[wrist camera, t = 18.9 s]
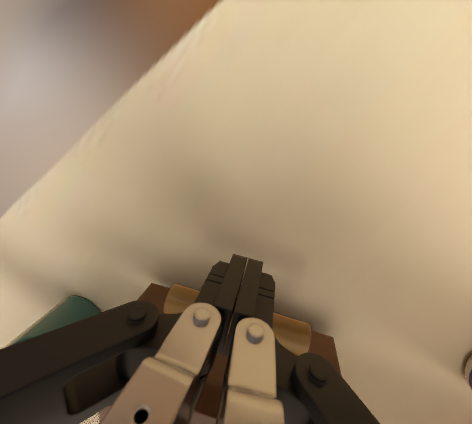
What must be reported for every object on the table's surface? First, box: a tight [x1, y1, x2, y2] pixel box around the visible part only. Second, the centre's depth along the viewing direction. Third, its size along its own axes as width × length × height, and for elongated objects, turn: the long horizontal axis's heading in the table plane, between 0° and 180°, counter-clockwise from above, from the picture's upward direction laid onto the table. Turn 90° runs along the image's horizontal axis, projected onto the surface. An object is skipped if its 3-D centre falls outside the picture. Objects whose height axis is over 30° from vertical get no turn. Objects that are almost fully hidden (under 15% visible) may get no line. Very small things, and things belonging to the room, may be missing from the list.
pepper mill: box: [2, 296, 101, 349], centre depth 17 cm, size 4×4×12 cm
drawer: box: [99, 283, 341, 424], centre depth 16 cm, size 19×14×7 cm
